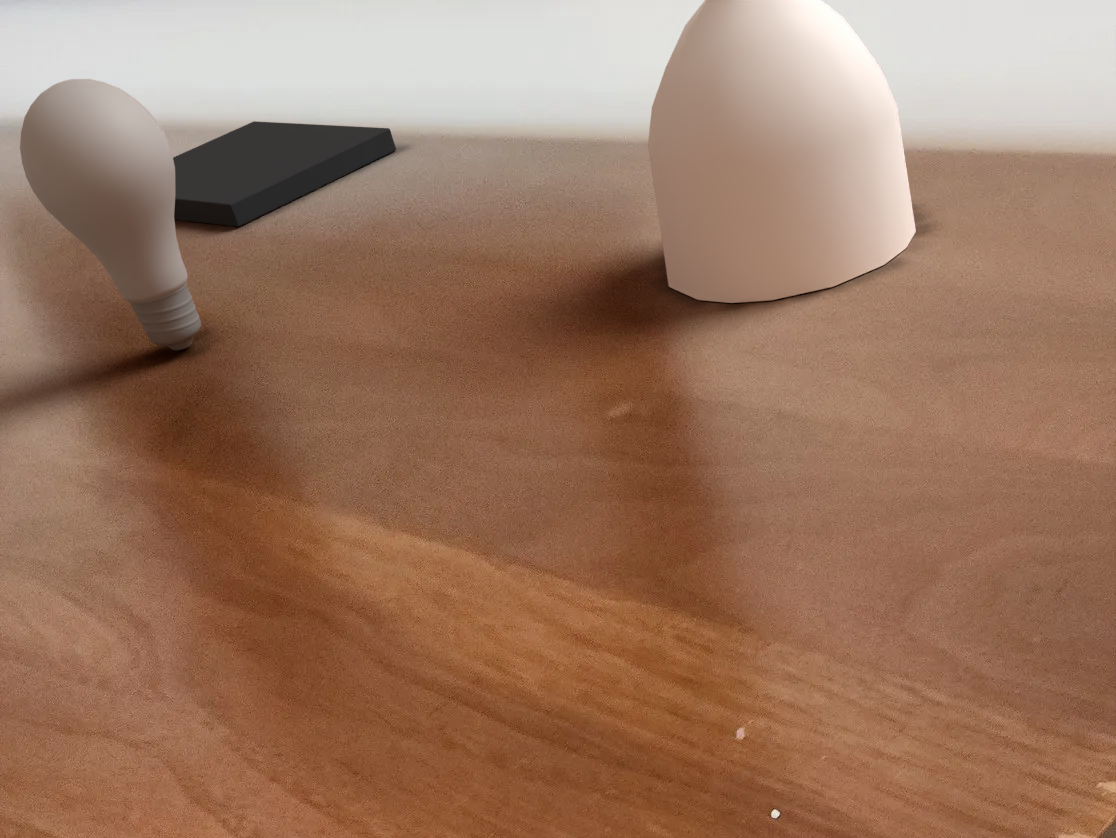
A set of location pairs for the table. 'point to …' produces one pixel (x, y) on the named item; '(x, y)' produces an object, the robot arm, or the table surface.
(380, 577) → the table surface
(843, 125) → the teardrop
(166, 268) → the lightbulb
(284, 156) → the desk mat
